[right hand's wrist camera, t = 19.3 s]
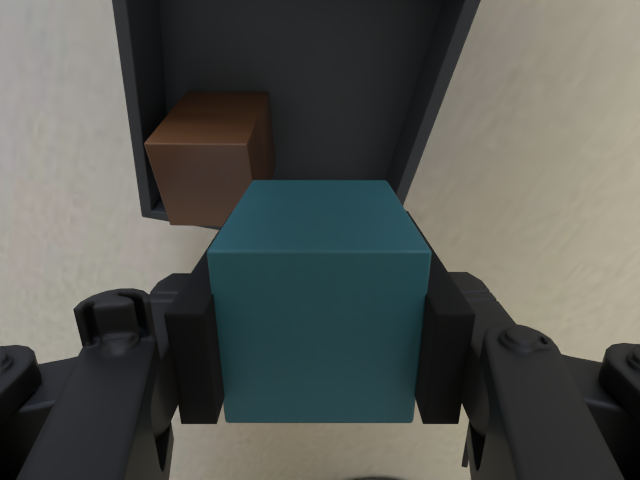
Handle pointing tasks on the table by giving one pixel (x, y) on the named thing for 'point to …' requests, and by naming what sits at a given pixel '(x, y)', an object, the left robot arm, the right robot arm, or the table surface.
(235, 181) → the walnut block
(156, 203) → the tray
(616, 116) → the table surface
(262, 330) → the teal block
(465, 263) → the table surface
